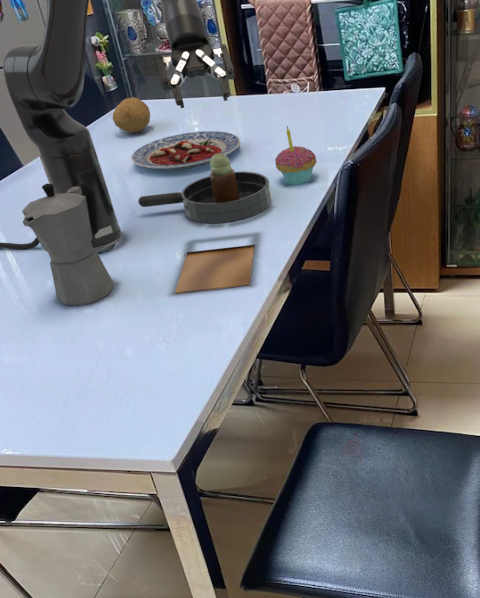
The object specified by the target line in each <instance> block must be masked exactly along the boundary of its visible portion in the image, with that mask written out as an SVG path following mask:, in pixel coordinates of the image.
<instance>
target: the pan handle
mask: <svg viewBox="0 0 480 598" xmlns="http://www.w3.org/2000/svg"><path fill="white" fill-rule="evenodd" d="M181 193H182V191H177V192H169V193H160V194H159V193H158V194H151V195H142V196H140V197H139V198H138V205H140V207H142V208H148V207H149V208H150V207H157V206H165V205H176V204H183V201H182V197H181Z"/></svg>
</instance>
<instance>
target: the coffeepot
mask: <svg viewBox="0 0 480 598" xmlns="http://www.w3.org/2000/svg"><path fill="white" fill-rule="evenodd" d="M41 188H42V190H43V192H44V194H45V195H46V196H44V197H41V198H38V199H35V200H32V201H30V202H29V203H28V204H27V205H26V206H25V207H24V208H23V209H22V211H21V212H22V214H23V216H24V217H23V220H22V224H23V226H24V227H29V228H30V229H31V230H32V232H33V233H34V235H35V238H36V237H37V239H38V240H39V242H40V243H39V244H40V246H41V248H42V249H43V251H45V252H46V253H48V255H49V258H50V262H49V265H50V271H51V274H52V275H51V276H52V280H53V284H54V285H53V286H54V290H55V295H56V299H57V300H58V301H59V302H61V303H62V304H63V305H66V306H84V305H89V304H92V303H95V302H99V301H101V300H102V299H104V298H106V297H107V296H108V295H109V294H110V293H111V292H112V291H113V288H114V284H115V283H114V281H113V280H112V278H111V275H110V274H109V272H108V270H107V268H106V266H105V264H104V263H103V261H102V258H101V256H100V255H99V253H97V252H96V251H95V250H94V249H93V247H92V244H91V240H92V238H93V236H94V235H96V234H97V233H98V219H97V208H96V196H95V191H94V190H93V189H92V188H91V187H89V186H88V185H87V184H85V183H80V184H78V185H77V186H76V187H72V188H70V189H69V190H67V193H62V194H55V193H54V187H53V184H49V183H45V184H43V185H42V186H41ZM84 195H85V196H86V197H85V196H84ZM86 202H87V204H86ZM87 206H88V210H87ZM90 224H91V226H90Z"/></svg>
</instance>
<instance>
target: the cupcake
mask: <svg viewBox="0 0 480 598" xmlns="http://www.w3.org/2000/svg"><path fill="white" fill-rule="evenodd" d="M286 136H287V140H288V146H289V147H288V148H285V149H282V150H281V151H280V152H279V153H278V154H277V155H276V157H275V158H274V163H275V168H276V169H277V170H278V171H279V172H280V173H281V174H282V176H283V178H284V180H285V182H286V183H287V184H289V185H301V184H305V183H308V182H309V181H310V180H311V178H312V174H313V169H314V167H315V166H316V164H317V158H316V155H315V153H314V152H313V151H312V150H310V149H308V148H306V147H304V146H297V145H293V140H292V135H291V130H290V129H289V126H288V125H286Z"/></svg>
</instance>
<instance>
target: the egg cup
mask: <svg viewBox="0 0 480 598" xmlns="http://www.w3.org/2000/svg"><path fill="white" fill-rule="evenodd" d="M231 165H232V164H231V161H230V159H229V157H228V156H227V155H224V154H221V153H218V154H215V155H214V156H213V157H212V158H211V160H210V162H209V167H210V173H209V176H210V179H211V184H212V188H213V193H214V198H215V202H216V203H221V202H228V201H233V200H238V199H240V196H239V191H238V186H237V181H236V176H235V172H236V171H235V169H234V168H232V166H231Z"/></svg>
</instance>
